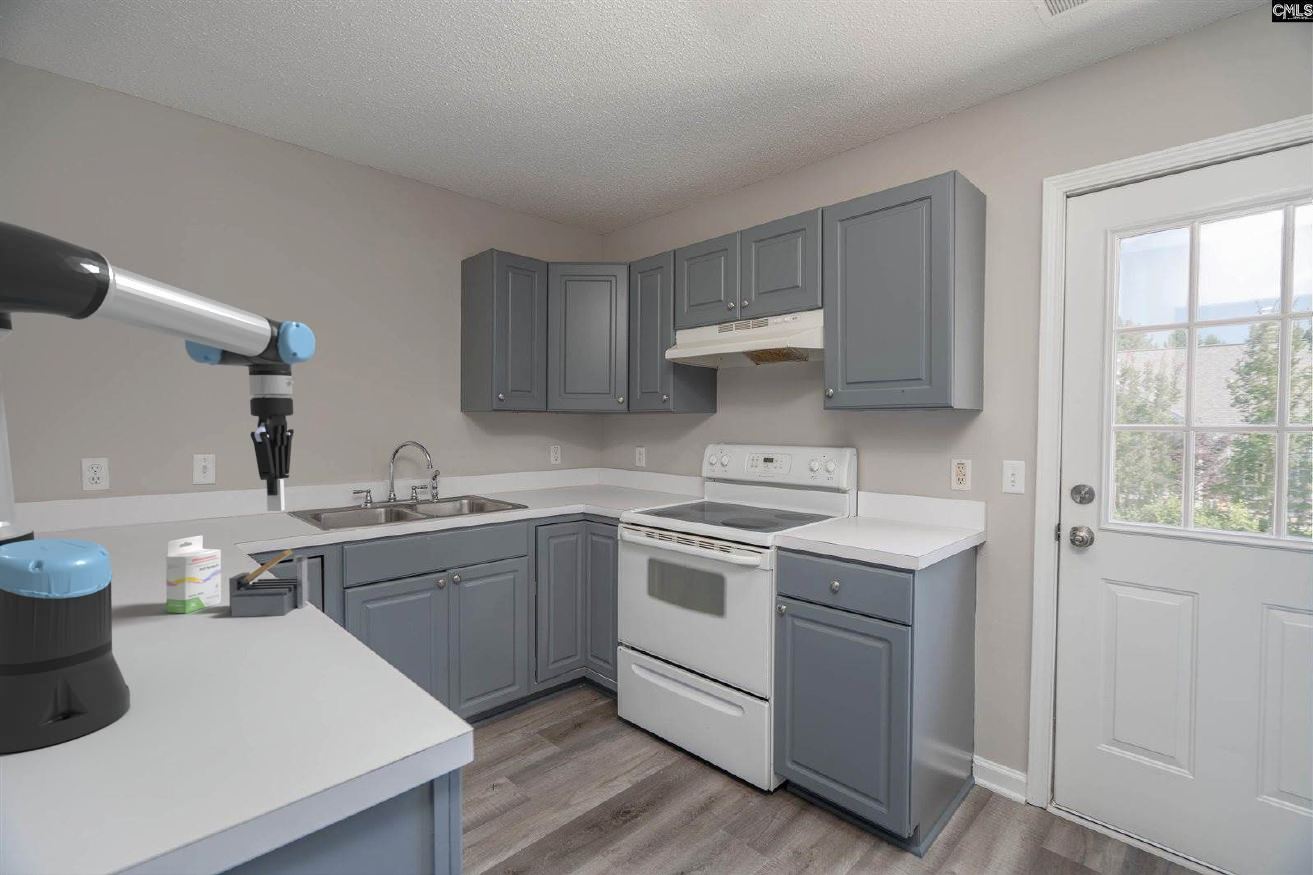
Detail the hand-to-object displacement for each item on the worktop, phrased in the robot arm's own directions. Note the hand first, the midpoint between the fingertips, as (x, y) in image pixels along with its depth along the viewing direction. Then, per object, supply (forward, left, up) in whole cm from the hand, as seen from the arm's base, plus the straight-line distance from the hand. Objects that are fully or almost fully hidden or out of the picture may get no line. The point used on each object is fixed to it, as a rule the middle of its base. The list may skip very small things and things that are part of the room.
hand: (276, 510), depth 129 cm
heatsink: (+2, +2, -21) cm, 21 cm away
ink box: (+4, +18, -21) cm, 28 cm away
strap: (+2, +3, -13) cm, 13 cm away
